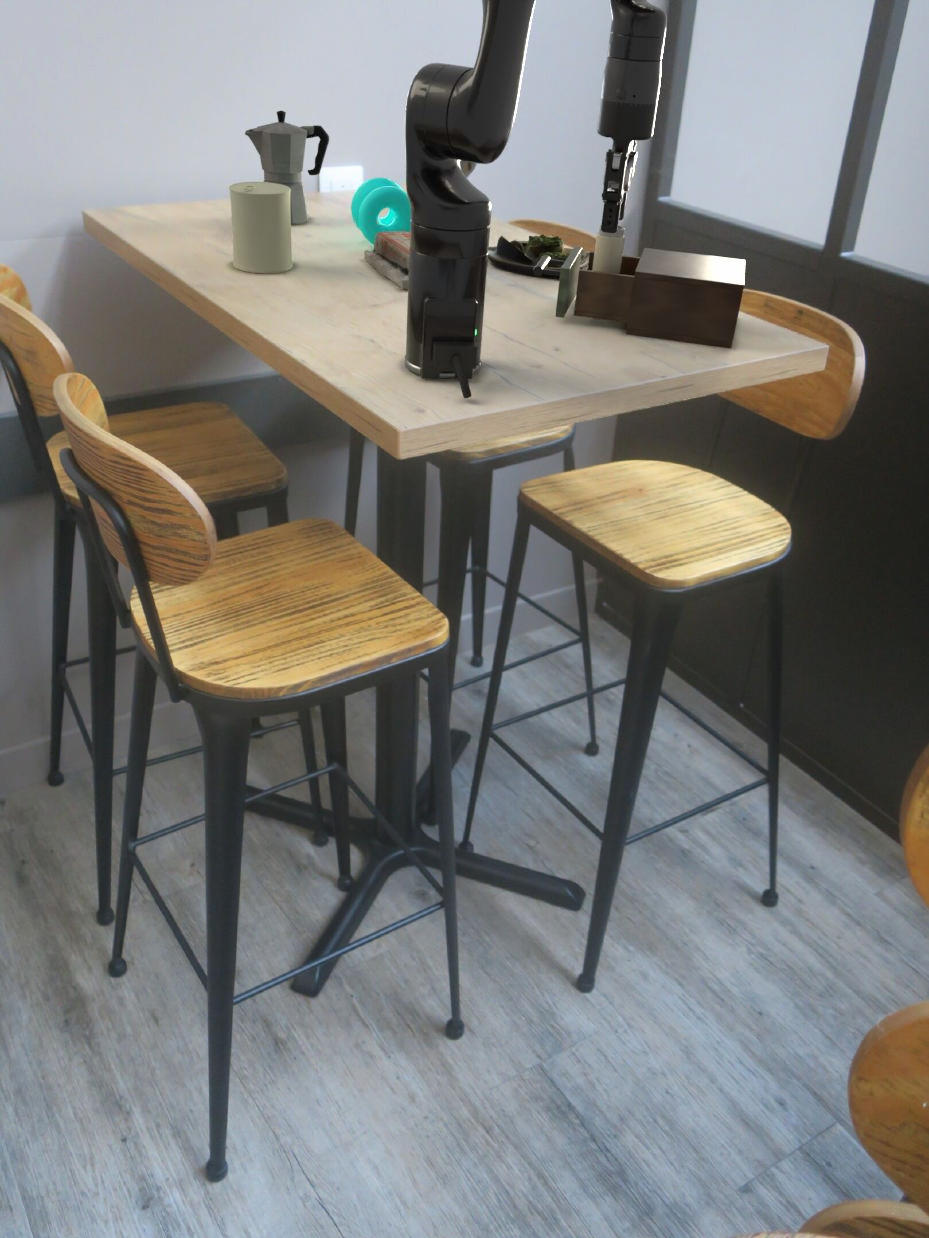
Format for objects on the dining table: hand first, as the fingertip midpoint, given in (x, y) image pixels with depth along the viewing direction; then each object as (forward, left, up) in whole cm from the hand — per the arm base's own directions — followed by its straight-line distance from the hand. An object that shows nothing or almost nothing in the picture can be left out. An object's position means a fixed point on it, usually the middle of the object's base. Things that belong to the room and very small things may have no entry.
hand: (612, 225), depth 146 cm
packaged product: (+20, +26, -13) cm, 35 cm away
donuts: (+39, +29, -13) cm, 50 cm away
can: (+22, +49, -13) cm, 55 cm away
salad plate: (+28, +4, -13) cm, 31 cm away
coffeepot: (+55, +45, -13) cm, 72 cm away
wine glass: (+59, +14, -13) cm, 62 cm away
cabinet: (-4, -11, -13) cm, 17 cm away
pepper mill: (0, 0, -11) cm, 11 cm away
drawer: (0, +1, -12) cm, 12 cm away
